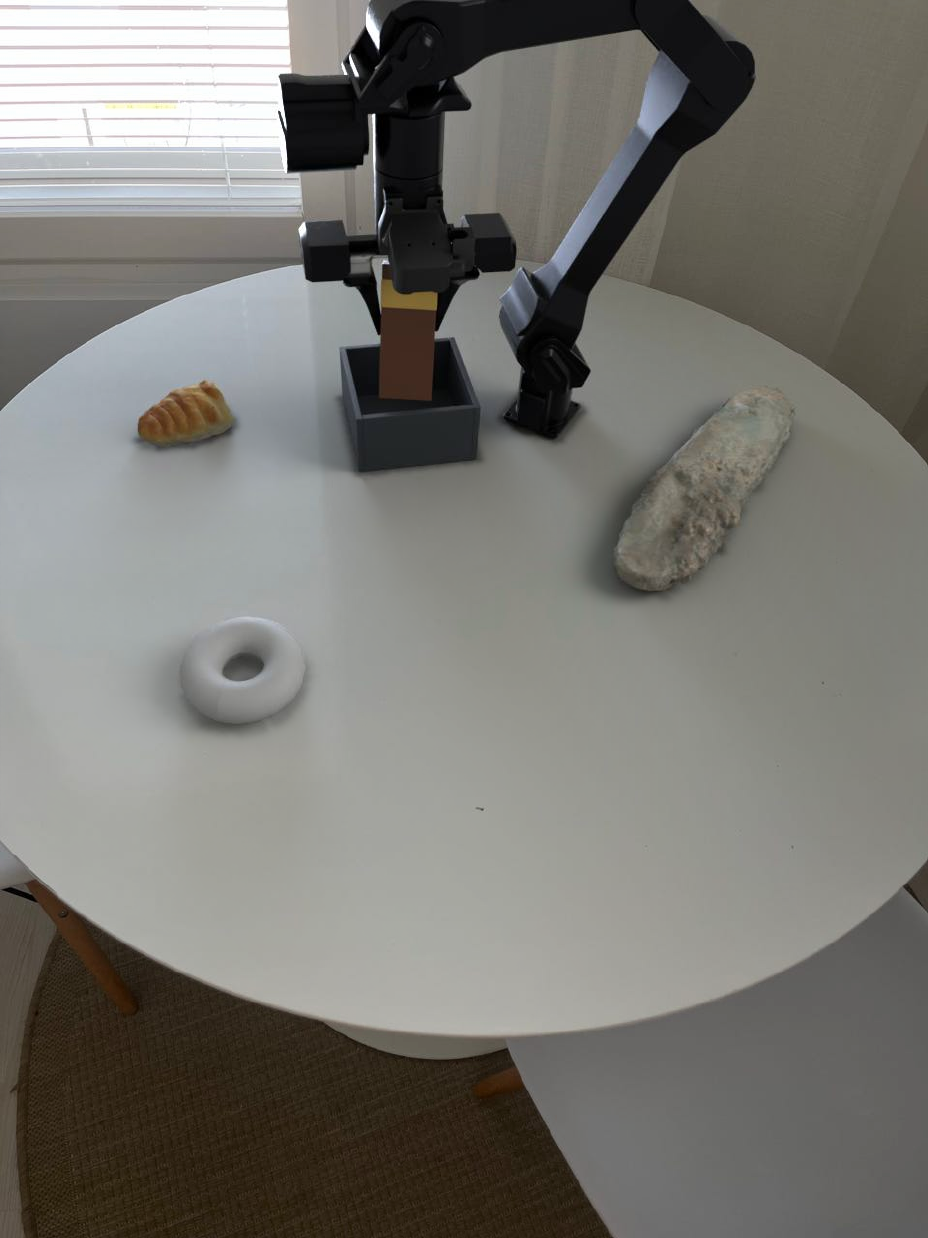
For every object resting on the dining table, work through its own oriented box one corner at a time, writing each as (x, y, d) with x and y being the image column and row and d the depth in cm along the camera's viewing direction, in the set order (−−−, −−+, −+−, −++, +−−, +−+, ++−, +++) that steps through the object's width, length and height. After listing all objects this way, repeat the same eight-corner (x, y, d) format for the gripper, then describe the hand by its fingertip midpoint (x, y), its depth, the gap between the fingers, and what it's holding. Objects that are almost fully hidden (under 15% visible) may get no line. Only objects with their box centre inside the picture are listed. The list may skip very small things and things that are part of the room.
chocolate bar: (379, 390, 89) (382, 259, 83) (431, 393, 89) (437, 263, 84) (378, 398, 86) (381, 263, 81) (431, 401, 87) (438, 267, 81)
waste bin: (451, 388, 101) (454, 336, 96) (476, 459, 94) (480, 407, 89) (342, 398, 99) (339, 346, 94) (359, 472, 91) (356, 419, 86)
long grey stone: (809, 433, 101) (725, 404, 105) (824, 392, 97) (736, 363, 101) (685, 618, 80) (585, 574, 84) (698, 575, 76) (593, 530, 80)
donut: (308, 632, 78) (189, 634, 77) (306, 606, 76) (182, 608, 74) (305, 730, 72) (175, 734, 71) (302, 706, 69) (167, 710, 68)
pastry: (158, 462, 91) (149, 431, 88) (128, 427, 94) (118, 397, 91) (240, 427, 95) (235, 397, 92) (209, 396, 98) (203, 365, 95)
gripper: (304, 216, 68) (318, 389, 80) (542, 205, 72) (521, 373, 84) (291, 151, 75) (305, 319, 87) (508, 144, 79) (494, 307, 90)
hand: (406, 331), depth 87 cm, fingers closed on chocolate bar, 5 cm apart
